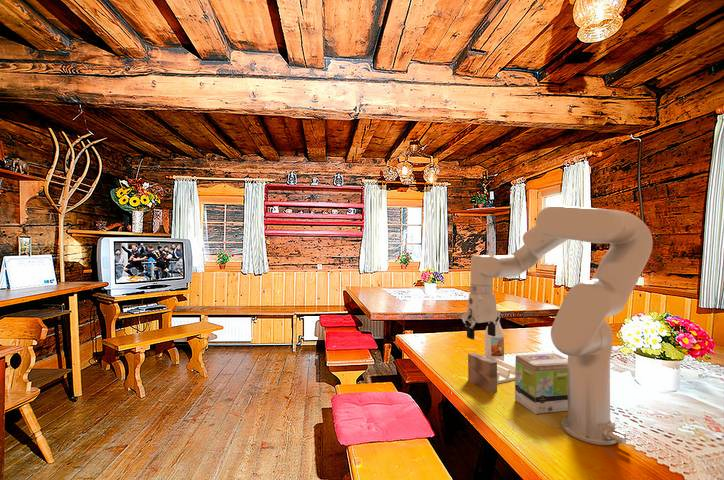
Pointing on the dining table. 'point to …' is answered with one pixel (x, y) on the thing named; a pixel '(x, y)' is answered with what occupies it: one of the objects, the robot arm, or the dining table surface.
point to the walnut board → (482, 372)
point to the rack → (504, 371)
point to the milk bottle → (494, 343)
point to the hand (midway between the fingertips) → (481, 337)
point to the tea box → (541, 382)
